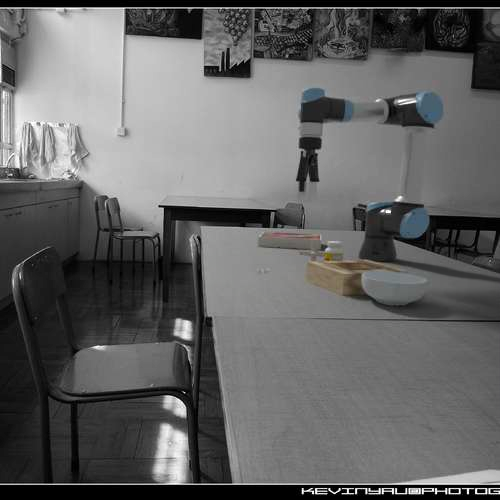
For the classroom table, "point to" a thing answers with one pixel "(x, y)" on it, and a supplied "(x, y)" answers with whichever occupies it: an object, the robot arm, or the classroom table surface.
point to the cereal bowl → (393, 287)
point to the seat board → (343, 274)
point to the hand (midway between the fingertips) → (306, 201)
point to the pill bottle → (334, 251)
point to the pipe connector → (313, 251)
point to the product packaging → (288, 240)
